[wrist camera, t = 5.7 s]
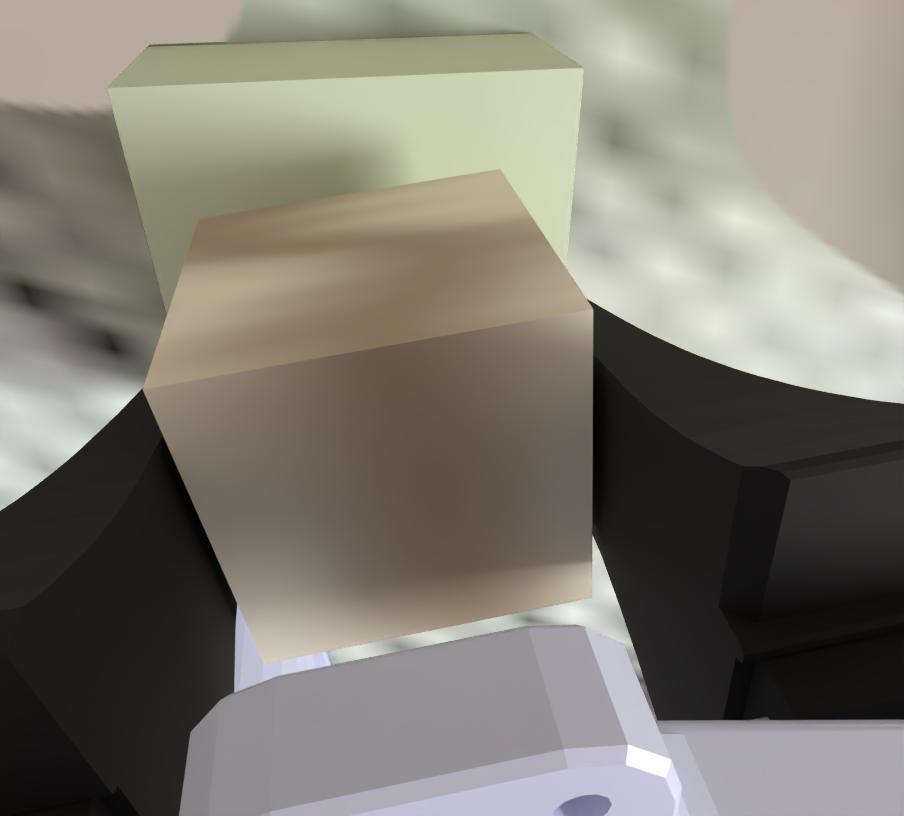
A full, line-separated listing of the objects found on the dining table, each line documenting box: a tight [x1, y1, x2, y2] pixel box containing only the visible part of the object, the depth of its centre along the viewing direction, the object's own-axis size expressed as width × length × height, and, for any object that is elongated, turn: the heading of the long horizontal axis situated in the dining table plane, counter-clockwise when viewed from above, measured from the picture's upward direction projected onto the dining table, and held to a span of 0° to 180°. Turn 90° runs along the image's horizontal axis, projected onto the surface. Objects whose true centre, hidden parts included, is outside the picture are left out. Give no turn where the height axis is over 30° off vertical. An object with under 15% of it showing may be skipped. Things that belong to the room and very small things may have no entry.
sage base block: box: [107, 33, 584, 314], centre depth 16 cm, size 8×8×4 cm
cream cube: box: [143, 169, 593, 664], centre depth 12 cm, size 5×5×5 cm
